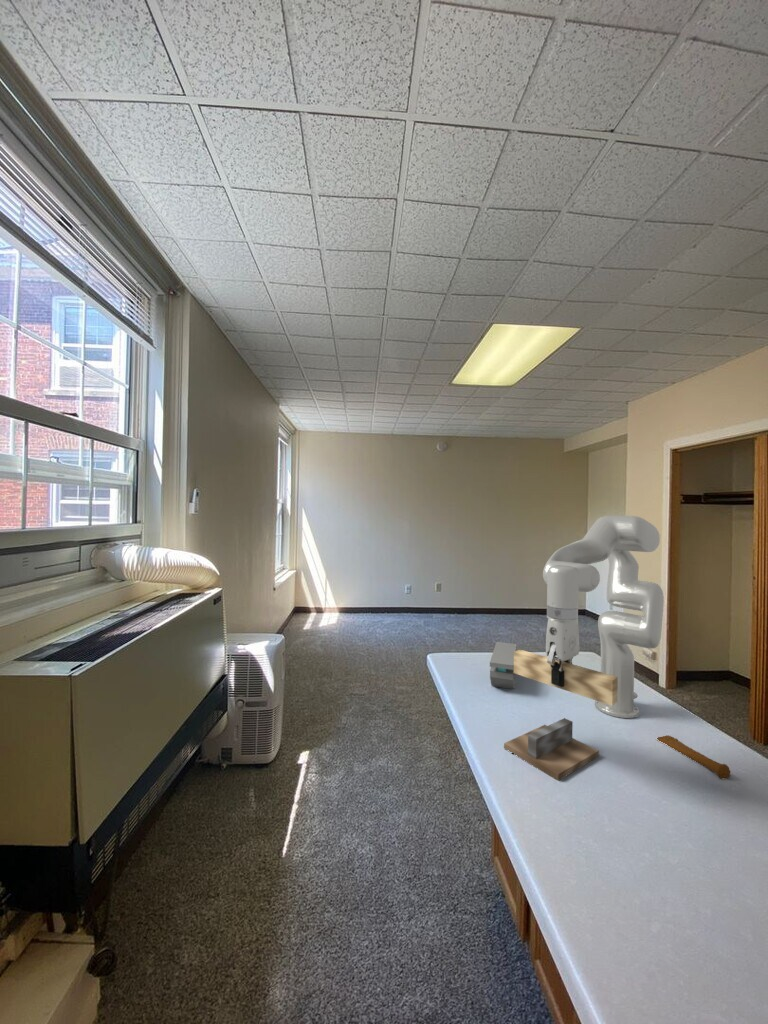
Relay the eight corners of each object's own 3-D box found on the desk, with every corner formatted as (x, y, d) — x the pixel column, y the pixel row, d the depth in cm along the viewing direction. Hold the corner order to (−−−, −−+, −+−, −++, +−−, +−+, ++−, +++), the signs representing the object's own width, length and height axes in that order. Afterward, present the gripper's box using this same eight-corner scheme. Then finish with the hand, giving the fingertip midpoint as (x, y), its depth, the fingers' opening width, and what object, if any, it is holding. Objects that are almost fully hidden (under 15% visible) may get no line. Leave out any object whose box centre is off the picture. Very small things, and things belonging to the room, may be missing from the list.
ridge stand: (544, 729, 123) (545, 707, 123) (598, 756, 110) (599, 731, 110) (504, 748, 113) (504, 724, 113) (558, 780, 100) (558, 753, 100)
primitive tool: (653, 739, 120) (653, 726, 120) (669, 737, 121) (669, 725, 121) (720, 781, 101) (720, 767, 101) (738, 779, 102) (738, 764, 102)
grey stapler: (496, 668, 171) (496, 641, 171) (516, 671, 169) (516, 644, 169) (489, 693, 148) (489, 662, 148) (512, 696, 145) (513, 665, 145)
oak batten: (617, 701, 102) (617, 676, 102) (612, 705, 99) (612, 680, 99) (519, 670, 121) (519, 649, 121) (513, 673, 119) (513, 651, 119)
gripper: (561, 621, 102) (560, 697, 102) (590, 610, 113) (589, 679, 113) (532, 615, 107) (531, 687, 108) (562, 606, 118) (561, 671, 119)
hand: (561, 682), depth 110 cm, fingers closed on oak batten, 3 cm apart
